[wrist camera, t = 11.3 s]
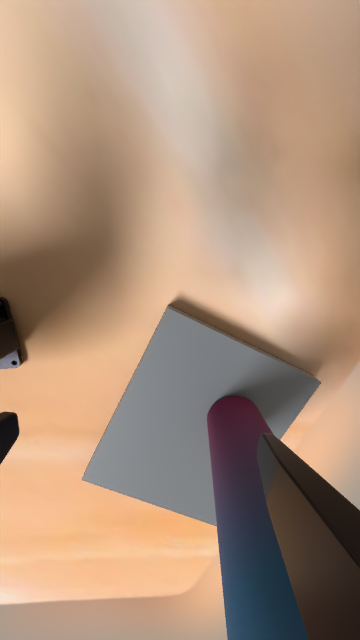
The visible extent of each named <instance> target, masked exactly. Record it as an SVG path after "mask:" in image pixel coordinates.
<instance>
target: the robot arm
mask: <svg viewBox="0 0 360 640" xmlns="http://www.w3.org/2000/svg"><path fill="white" fill-rule="evenodd" d="M0 302H1V303H2V305H0V369H8V368H17V367H19V366H20V365H22V363H23V361H22V357H21V353H20V349H19V343H18V339H17V335H16V331H15V327H14V323H13V321H12V317H11V313H10V309H9V305H8V302H7V300H6V299H5V298H3V297H0ZM14 361H16V362H17V363H15V362H14ZM18 435H19V424H18V417H17V414H16V413H14V412H2V413H0V464H1V463H2V461H3V460H4V458H5V457H6V455H7V453H8V452H9V450H10V449H11V447H12V446H13V444H14V443H15V441H16V440H17V438H18ZM257 460H258V465H259V470H260V475H261V479H262V484H263V489H264V494H265V498H266V503H267V507H268V510H269V514H270V517H271V520H272V523H273V527H274V530H275V533H276V536H277V539H278V543H279V546H280V549H281V552H282V556H283V559H284V562H285V565H286V568H287V572H288V575H289V578H290V581H291V584H292V588H293V591H294V594H295V597H296V601H297V604H298V607H299V610H300V613H301V617H302V620H303V623H304V626H305V630H306V633H307V636H308V639H309V640H360V510H359V509H357V508H356V507H355V506H354V505H353V504H351V502H350V501H348V500H347V499H346V498H345V497H344V496H343V495H342V494H340V493H339V492H338V491H337V490H336V489H335V488H334V487H332V486H331V485H330V484H329V483H328V482H327V481H326V480H325V479H323V478H322V477H321V476H320V475H319V474H318V473H317V472H315V471H314V470H313V469H312V468H311V467H310V466H309V465H308V464H306V463H305V462H304V461H303V460H302V459H301V458H299V457H298V456H297V455H296V454H295V453H294V452H293V451H292V450H290V449H289V448H288V447H287V446H286V445H285V444H284V443H283V442H281V441H280V440H279V439H278V438H277V437H276V436H275V435H273V434H270V433H261V434H260V437H259V442H258V448H257Z"/></svg>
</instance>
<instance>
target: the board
mask: <svg viewBox="0 0 360 640" xmlns="http://www.w3.org/2000/svg"><path fill="white" fill-rule="evenodd" d="M320 384H321V382H320V381H319V380H318V379H316V378H315V377H314V376H313V375H311V374H309V373H307V372H305V371H303V370H301V369H299V368H297V367H295V366H293V365H291V364H289V363H287V362H285V361H283V360H281V359H279V358H277V357H274V356H272V355H270V354H268V353H266V352H264V351H262V350H260V349H258V348H256V347H254V346H252V345H250V344H248V343H246V342H244V341H242V340H240V339H238V338H236V337H233V336H231V335H229V334H227V333H225V332H223V331H221V330H219V329H217V328H215V327H213V326H211V325H209V324H207V323H205V322H203V321H201V320H199V319H197V318H195V317H192V316H190V315H188V314H186V313H184V312H182V311H180V310H178V309H176V308H174V307H172V306H170V305H168V306H167V308H166V310H165V312H164V314H163V316H162V318H161V320H160V322H159V324H158V326H157V328H156V330H155V332H154V334H153V336H152V338H151V340H150V342H149V344H148V346H147V348H146V350H145V352H144V354H143V356H142V358H141V360H140V362H139V364H138V366H137V368H136V370H135V372H134V374H133V376H132V378H131V380H130V382H129V384H128V386H127V388H126V390H125V392H124V394H123V396H122V398H121V400H120V402H119V404H118V406H117V408H116V410H115V412H114V414H113V416H112V418H111V420H110V422H109V424H108V426H107V428H106V430H105V432H104V434H103V436H102V438H101V440H100V442H99V444H98V446H97V448H96V450H95V452H94V454H93V456H92V458H91V460H90V462H89V464H88V466H87V468H86V471H85V473H84V475H83V478H82V480H83V481H86V482H89V483H92V484H95V485H98V486H100V487H103V488H106V489H109V490H112V491H115V492H118V493H121V494H124V495H127V496H130V497H133V498H136V499H138V500H141V501H144V502H147V503H150V504H153V505H156V506H159V507H162V508H165V509H168V510H171V511H173V512H176V513H179V514H182V515H185V516H188V517H191V518H194V519H197V520H200V521H203V522H206V523H208V524H211V525H214V526H217V522H216V511H215V501H214V490H213V479H212V469H211V458H210V448H209V437H208V427H207V414H208V412H209V410H210V408H211V407H212V406H213V405H214V404H215V403H216V402H217V401H219V400H220V399H223V398H225V397H229V396H241V397H245V398H247V399H249V400H250V401H252V402H253V403H254V404H255V405H256V407H257V408H258V410H259V412H260V413H261V415H262V416H263V418H264V420H265V421H266V423H267V424H268V426H269V428H270V429H271V431H272V432H273V434H274V435H275V436H276V437H277V438H278V439H279V440H280V439H281V438H282V436H283V435H284V434H285V432H286V431H287V429H288V428H289V427H290V425H291V424H292V423H293V421H294V420H295V418H296V417H297V416H298V414H299V413H300V411H301V410H302V409H303V407H304V406H305V404H306V403H307V402H308V400H309V399H310V397H311V396H312V395H313V393H314V392H315V391H316V389H317V388H318V386H319V385H320Z"/></svg>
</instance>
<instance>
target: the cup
mask: <svg viewBox="0 0 360 640" xmlns="http://www.w3.org/2000/svg"><path fill="white" fill-rule="evenodd" d="M207 427H208V437H209V448H210V458H211V469H212V479H213V490H214V501H215V511H216V522H217V532H218V543H219V553H220V564H221V574H222V585H223V596H224V606H225V617H226V627H227V637H228V640H309V639H308V636H307V633H306V630H305V626H304V623H303V620H302V617H301V613H300V610H299V607H298V604H297V601H296V597H295V594H294V591H293V588H292V584H291V581H290V578H289V575H288V572H287V568H286V565H285V562H284V559H283V556H282V552H281V549H280V546H279V543H278V539H277V536H276V533H275V530H274V527H273V523H272V520H271V517H270V514H269V510H268V507H267V503H266V498H265V494H264V489H263V484H262V479H261V475H260V470H259V465H258V460H257V448H258V442H259V437H260V434H261V433H270V434H273V432H272V431H271V429H270V428H269V426H268V424H267V423H266V421H265V420H264V418H263V416H262V415H261V413H260V412H259V410H258V408H257V407H256V405H255V404H254V403H253V402H252V401H250V400H249V399H247V398H245V397H241V396H229V397H225V398H223V399H220V400H219V401H217V402H216V403H215V404H214V405H213V406H212V407H211V408H210V410H209V412H208V414H207ZM273 435H274V434H273Z"/></svg>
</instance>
